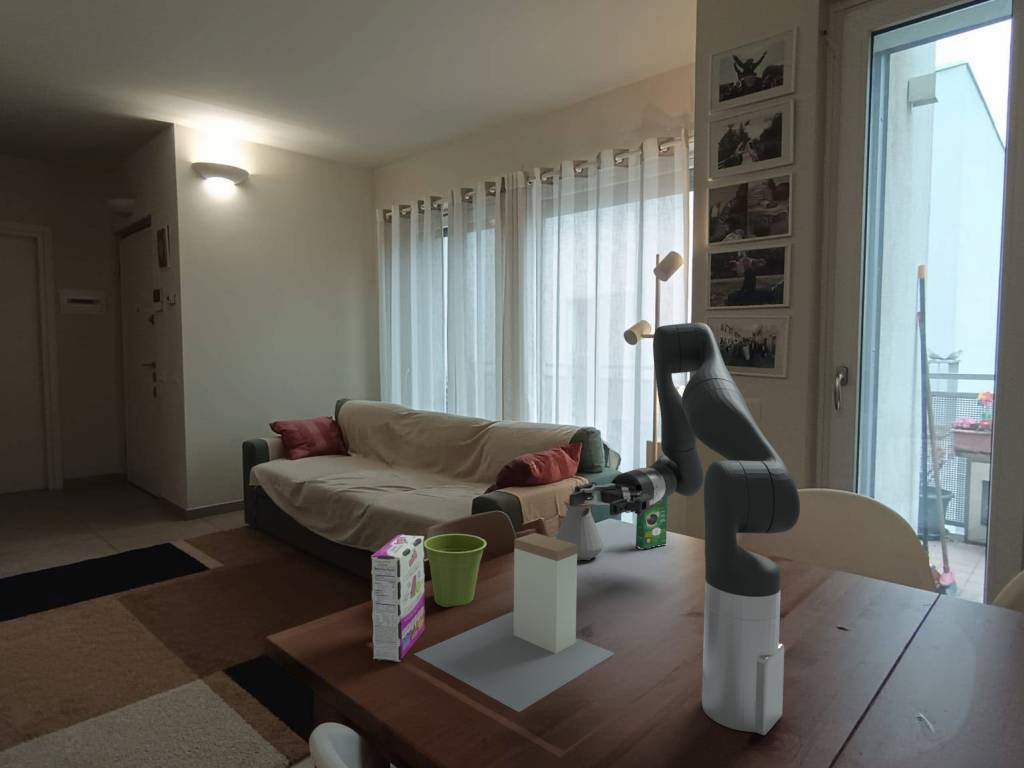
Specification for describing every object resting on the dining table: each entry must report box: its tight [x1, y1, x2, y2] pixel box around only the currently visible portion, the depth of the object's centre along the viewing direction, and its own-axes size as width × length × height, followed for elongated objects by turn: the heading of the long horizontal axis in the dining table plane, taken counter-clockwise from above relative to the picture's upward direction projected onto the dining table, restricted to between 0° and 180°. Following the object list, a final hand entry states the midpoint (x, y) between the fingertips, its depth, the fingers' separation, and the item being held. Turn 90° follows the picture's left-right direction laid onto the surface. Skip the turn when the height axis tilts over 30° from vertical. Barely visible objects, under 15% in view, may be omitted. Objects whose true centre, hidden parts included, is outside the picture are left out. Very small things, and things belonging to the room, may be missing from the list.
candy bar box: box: [370, 534, 426, 663], centre depth 99 cm, size 11×5×16 cm, turn 168°
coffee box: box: [635, 496, 669, 550], centre depth 151 cm, size 8×3×13 cm, turn 122°
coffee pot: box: [555, 498, 604, 561], centre depth 139 cm, size 21×12×15 cm, turn 0°
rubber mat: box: [413, 611, 616, 713], centre depth 96 cm, size 22×22×1 cm
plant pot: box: [424, 533, 487, 608], centre depth 117 cm, size 12×12×11 cm
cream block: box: [513, 532, 578, 653], centre depth 100 cm, size 9×5×16 cm, turn 47°
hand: (590, 505), depth 109 cm, fingers open, 8 cm apart
